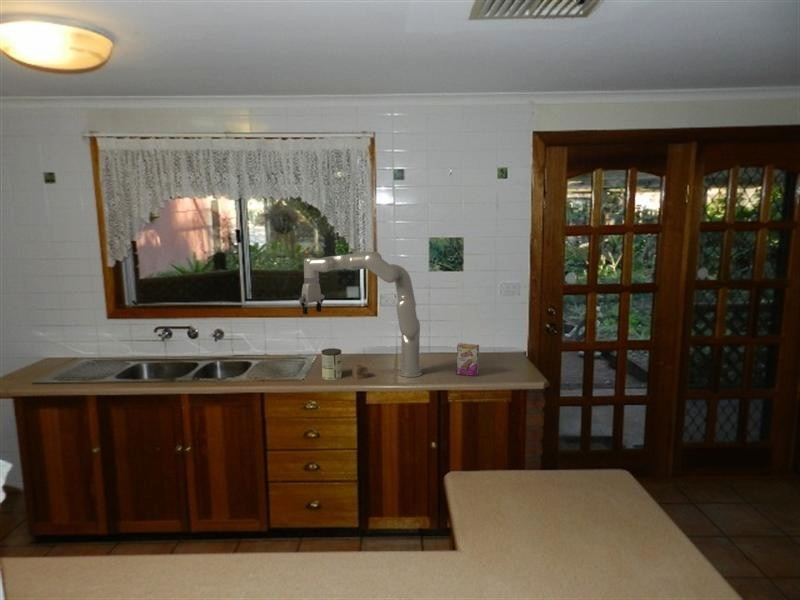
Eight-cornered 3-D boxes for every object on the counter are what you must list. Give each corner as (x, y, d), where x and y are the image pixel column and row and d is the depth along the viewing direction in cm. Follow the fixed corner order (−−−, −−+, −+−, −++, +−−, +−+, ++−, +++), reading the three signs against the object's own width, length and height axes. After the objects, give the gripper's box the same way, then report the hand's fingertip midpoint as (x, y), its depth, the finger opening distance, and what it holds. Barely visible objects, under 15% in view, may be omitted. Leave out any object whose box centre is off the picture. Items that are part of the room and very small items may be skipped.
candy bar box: (456, 374, 271) (456, 344, 268) (457, 372, 275) (458, 342, 273) (477, 376, 268) (478, 346, 265) (478, 374, 272) (479, 344, 270)
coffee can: (324, 373, 272) (324, 348, 269) (343, 374, 271) (343, 348, 268) (319, 379, 262) (319, 353, 259) (339, 380, 261) (339, 353, 258)
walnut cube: (363, 375, 270) (362, 364, 269) (367, 378, 265) (367, 367, 264) (352, 376, 267) (352, 365, 266) (357, 379, 262) (356, 368, 261)
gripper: (318, 279, 278) (319, 309, 281) (294, 281, 264) (294, 314, 267) (328, 280, 273) (328, 311, 276) (303, 283, 260) (304, 316, 263)
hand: (312, 312), depth 272 cm, fingers open, 9 cm apart
